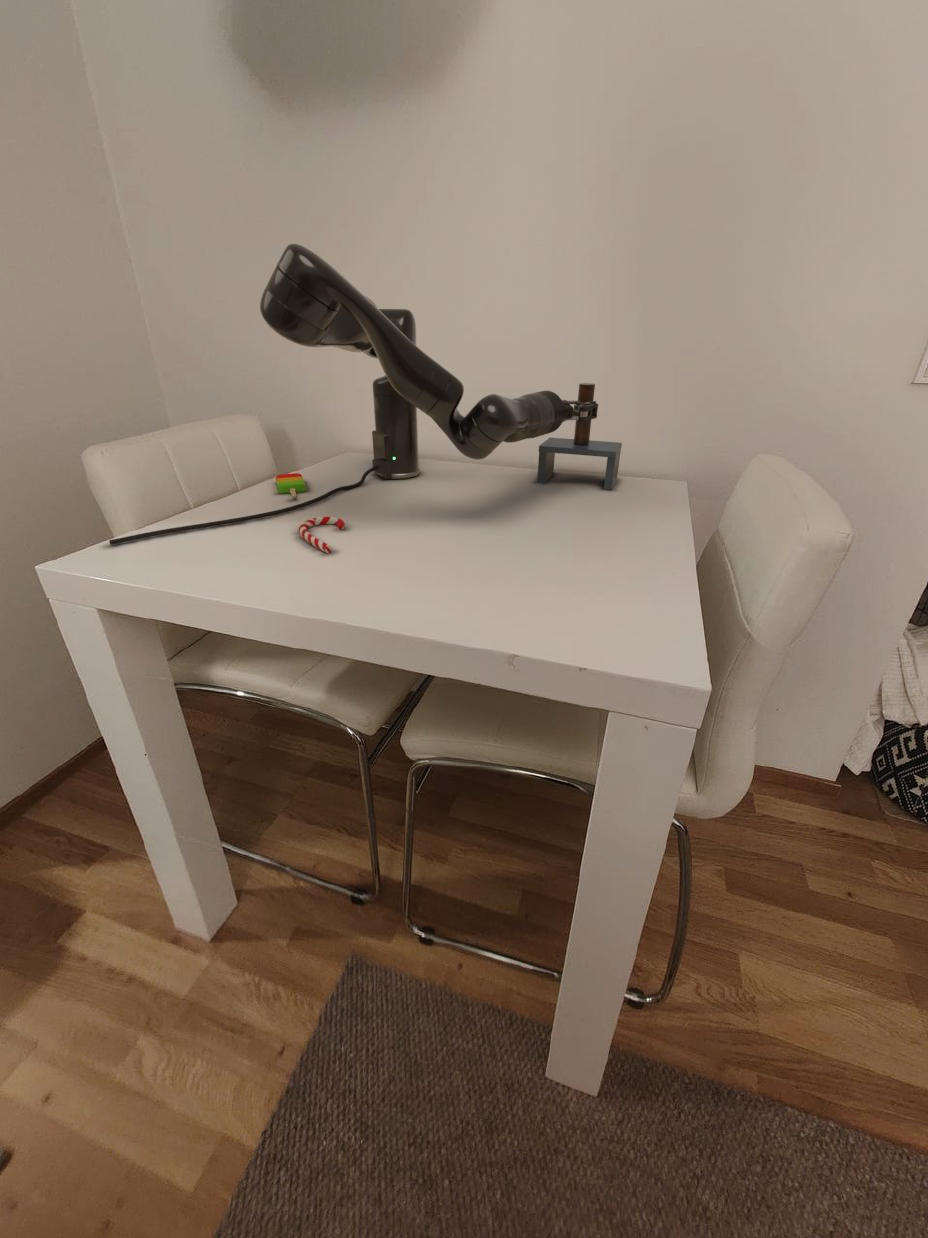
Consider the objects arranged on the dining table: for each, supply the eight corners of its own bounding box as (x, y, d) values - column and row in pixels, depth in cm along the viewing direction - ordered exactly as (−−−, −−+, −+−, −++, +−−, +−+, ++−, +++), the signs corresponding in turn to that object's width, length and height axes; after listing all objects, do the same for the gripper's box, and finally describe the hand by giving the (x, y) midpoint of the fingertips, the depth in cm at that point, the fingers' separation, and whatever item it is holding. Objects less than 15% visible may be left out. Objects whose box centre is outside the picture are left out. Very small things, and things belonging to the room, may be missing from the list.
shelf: (610, 490, 119) (615, 451, 115) (536, 483, 124) (538, 445, 120) (617, 479, 127) (622, 442, 123) (547, 472, 132) (549, 437, 128)
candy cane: (305, 548, 85) (295, 518, 98) (306, 556, 86) (296, 525, 98) (356, 542, 88) (340, 513, 100) (357, 550, 88) (341, 521, 101)
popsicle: (302, 480, 125) (301, 472, 124) (309, 499, 112) (308, 490, 111) (276, 483, 123) (274, 474, 122) (280, 502, 111) (278, 492, 110)
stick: (581, 446, 120) (587, 385, 114) (570, 443, 122) (575, 383, 116) (591, 444, 121) (598, 384, 116) (581, 442, 124) (587, 382, 118)
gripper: (500, 432, 108) (542, 420, 120) (568, 441, 101) (605, 428, 112) (502, 389, 104) (544, 382, 116) (573, 395, 97) (610, 387, 109)
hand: (574, 404), depth 114 cm, fingers open, 8 cm apart
